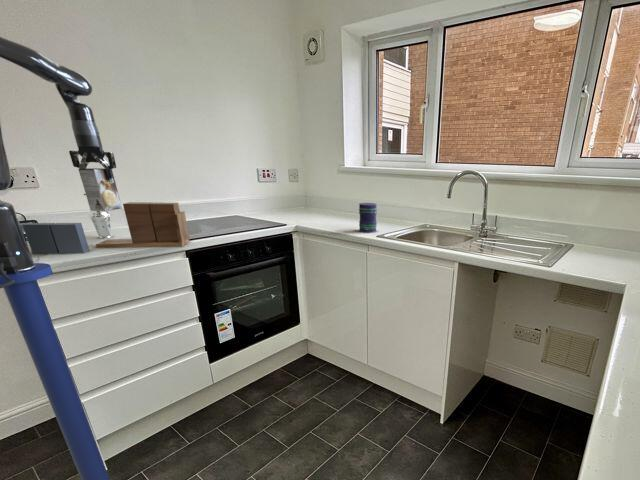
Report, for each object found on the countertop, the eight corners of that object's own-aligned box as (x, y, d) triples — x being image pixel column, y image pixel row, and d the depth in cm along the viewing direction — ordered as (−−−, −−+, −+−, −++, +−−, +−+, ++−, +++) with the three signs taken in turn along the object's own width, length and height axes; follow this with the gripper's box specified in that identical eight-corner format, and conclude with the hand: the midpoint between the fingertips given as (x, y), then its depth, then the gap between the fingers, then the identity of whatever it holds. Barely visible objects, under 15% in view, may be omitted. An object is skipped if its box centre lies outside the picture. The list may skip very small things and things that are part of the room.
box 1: (156, 242, 151) (147, 203, 145) (132, 242, 148) (122, 203, 143) (161, 239, 156) (153, 202, 150) (138, 239, 154) (129, 202, 148)
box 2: (180, 241, 153) (173, 204, 147) (157, 242, 151) (149, 203, 145) (185, 238, 158) (178, 202, 152) (162, 239, 156) (154, 202, 150)
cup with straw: (121, 236, 165) (109, 192, 158) (99, 240, 157) (86, 193, 150) (109, 234, 168) (98, 191, 161) (88, 238, 160) (74, 192, 153)
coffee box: (107, 208, 149) (97, 168, 143) (122, 208, 149) (112, 168, 143) (89, 210, 140) (77, 168, 134) (105, 211, 140) (94, 168, 134)
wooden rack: (183, 246, 152) (176, 214, 147) (96, 247, 144) (86, 214, 139) (190, 241, 161) (184, 211, 156) (109, 242, 153) (100, 211, 148)
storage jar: (356, 231, 197) (355, 204, 191) (364, 228, 205) (364, 202, 200) (371, 233, 193) (371, 205, 188) (379, 230, 202) (379, 203, 196)
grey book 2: (83, 252, 136) (75, 224, 132) (59, 253, 134) (49, 224, 130) (89, 250, 140) (81, 222, 136) (65, 250, 138) (56, 222, 134)
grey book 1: (57, 253, 134) (48, 224, 130) (32, 253, 132) (22, 224, 128) (64, 251, 138) (55, 222, 134) (39, 251, 136) (29, 223, 132)
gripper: (58, 132, 129) (71, 179, 135) (103, 134, 132) (114, 180, 138) (70, 133, 136) (83, 178, 142) (113, 135, 139) (123, 179, 145)
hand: (98, 179), depth 140 cm, fingers closed on coffee box, 7 cm apart
